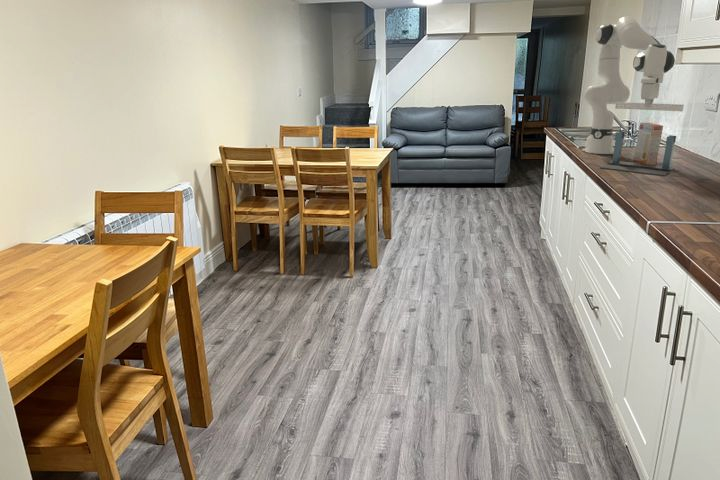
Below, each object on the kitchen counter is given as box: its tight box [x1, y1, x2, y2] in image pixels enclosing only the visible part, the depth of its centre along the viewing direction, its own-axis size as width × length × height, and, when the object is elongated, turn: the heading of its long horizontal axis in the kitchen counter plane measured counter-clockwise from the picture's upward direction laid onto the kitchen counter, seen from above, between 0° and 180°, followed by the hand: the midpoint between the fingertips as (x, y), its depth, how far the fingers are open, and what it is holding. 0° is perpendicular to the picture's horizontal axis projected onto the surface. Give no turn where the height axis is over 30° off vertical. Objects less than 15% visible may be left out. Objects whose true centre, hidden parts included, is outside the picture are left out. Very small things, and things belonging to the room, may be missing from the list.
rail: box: [614, 101, 685, 112], centre depth 269 cm, size 3×30×3 cm, turn 51°
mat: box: [599, 163, 670, 177], centre depth 274 cm, size 10×30×1 cm, turn 50°
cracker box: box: [633, 122, 664, 165], centre depth 290 cm, size 14×6×21 cm, turn 179°
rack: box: [606, 130, 677, 173], centre depth 280 cm, size 8×30×17 cm, turn 50°
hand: (648, 108), depth 269 cm, fingers closed on rail, 3 cm apart
